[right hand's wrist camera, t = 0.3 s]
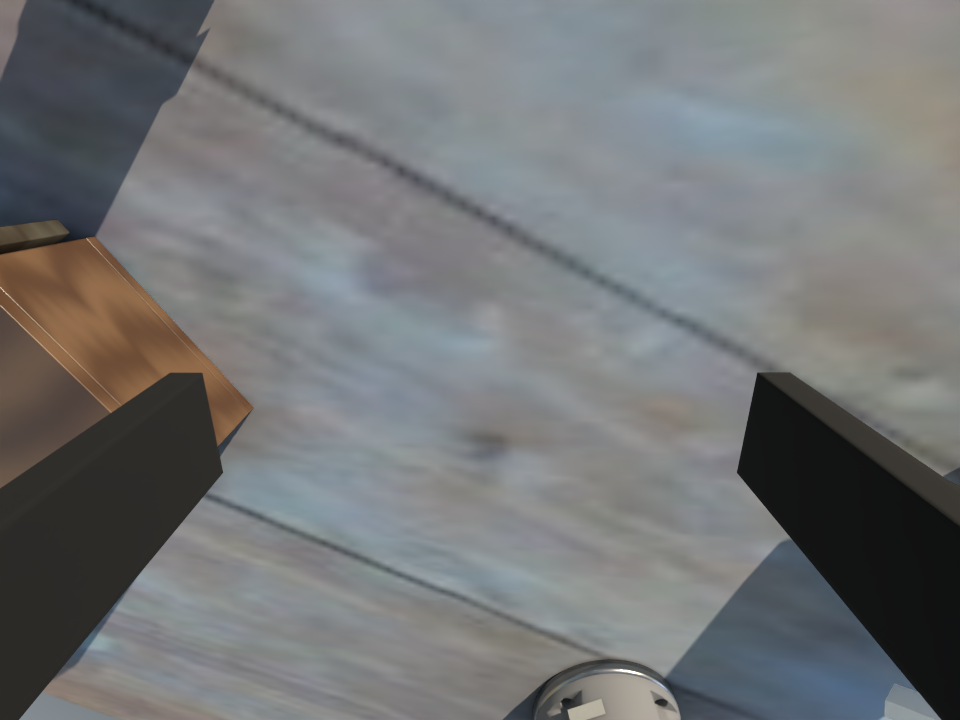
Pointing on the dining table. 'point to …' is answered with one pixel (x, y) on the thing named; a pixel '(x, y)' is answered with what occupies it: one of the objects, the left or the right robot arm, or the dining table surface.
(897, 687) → the white plastic object
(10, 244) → the drawer
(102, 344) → the cabinet
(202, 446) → the right robot arm
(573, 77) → the dining table surface
